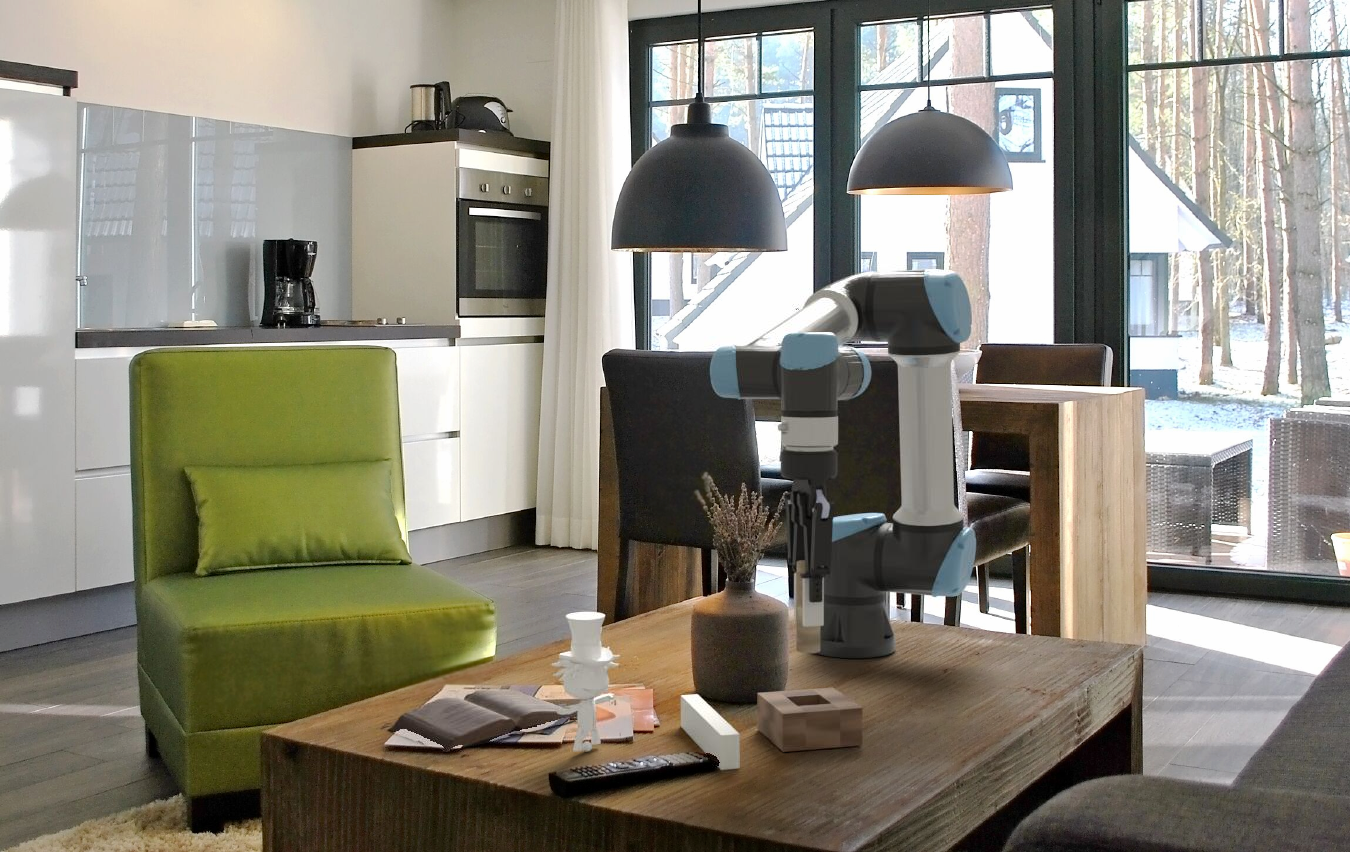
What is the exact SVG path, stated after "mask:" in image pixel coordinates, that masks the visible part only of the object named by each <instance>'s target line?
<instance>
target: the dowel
mask: <svg viewBox="0 0 1350 852" xmlns="http://www.w3.org/2000/svg"><path fill="white" fill-rule="evenodd" d="M800 574H805V560H800V561H797V621H795V622H796V623H795V624H796V626H795V627H796V629H795V631H796V632H795V633H796V637H795V638H796V639H795V640H796V645H795V647H796V652H797V653H802V654H817V652H820V626H808V627H804V626H803V578H801V576H800Z"/></svg>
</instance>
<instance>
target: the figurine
mask: <svg viewBox="0 0 1350 852" xmlns="http://www.w3.org/2000/svg"><path fill="white" fill-rule="evenodd" d="M565 618H566V621H567V622H568V625H569V627H570V629H569V630H570V633H571V642H570V650H569V651H565V652H562V653H559V654H558V658H559V659H558V661H557V662H553V663H550V664H551V666H553V667H555V668H557V667H563V668H560V669H559V670H557V672H556V673H553V674H552V675H553V677H558V676H561V675H562V676H561V677H560V678H559V679H558V681H559V682H563V685H562V686H563V690H564V691H565V693H566V694H567V695H569V696H571V697H573V698H575V699H578V700H580V702H579V703H577V704H576V703H575V704H572V705H569V706H564V707H563V708H561V709H558V710H557V711H556V712H557V713H558V714H560V715H565V714H571V713H573V712H576V711H578V712H577V720H578V721H577V727H578V728H577V731H576V734H575V739H574V743H573V748H572V751H573V752H580V751H584V752H586V753H588V752H590V751H591V750H592V748H593V746H596V745H600V744H601V743H602V741H601V738H600V735H599V731H598V728H597V714H596V713H597V710H596V709H597V708H596V705H598V704H604V703H608V702H611V701H613V700H614V699H615V698H616V694H614V693H606V692H608V690H609V685H610V678H609V675H608V669H609V668H617V667H618V666H619V665H620V663H614V662H613V660H617V659H618V658H620V656H621V655H620V654H617V655H615V654H613V652H612V651H611V650H610V646H607V648H606V647H604V646H602V641H601V636H602V633H603V632H602V631H603V629H604V628H603V627H602V625H603V624H604V623H603V622H604V621H605V618H606V614H604V613H602V612H595V611H580V612H579V611H578V612H572V613H571V612H570V613H568V614H566V615H565ZM590 732H591V733H590ZM589 733H590V740H591V741H585V740H586V738H587V737H588V735H589Z"/></svg>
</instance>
